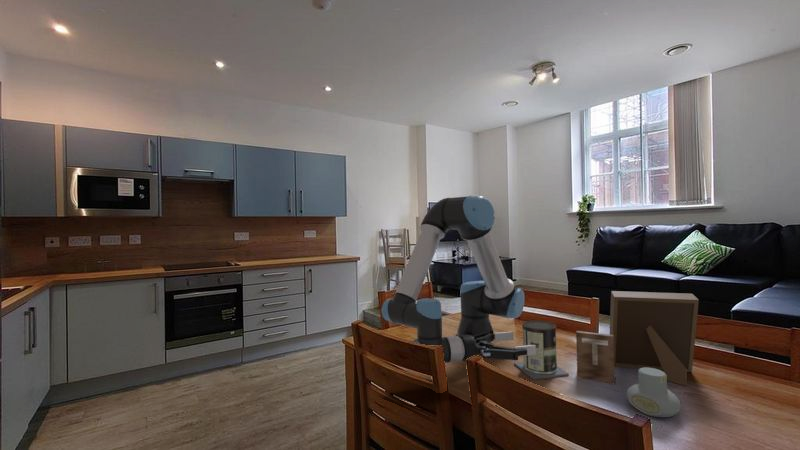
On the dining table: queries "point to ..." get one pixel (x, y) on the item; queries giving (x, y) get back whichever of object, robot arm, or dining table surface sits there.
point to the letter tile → (595, 356)
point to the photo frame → (654, 331)
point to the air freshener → (653, 394)
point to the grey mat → (541, 376)
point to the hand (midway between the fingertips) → (523, 342)
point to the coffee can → (540, 346)
